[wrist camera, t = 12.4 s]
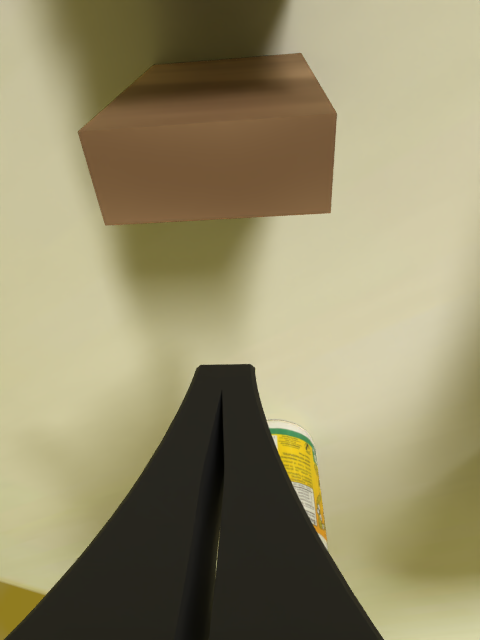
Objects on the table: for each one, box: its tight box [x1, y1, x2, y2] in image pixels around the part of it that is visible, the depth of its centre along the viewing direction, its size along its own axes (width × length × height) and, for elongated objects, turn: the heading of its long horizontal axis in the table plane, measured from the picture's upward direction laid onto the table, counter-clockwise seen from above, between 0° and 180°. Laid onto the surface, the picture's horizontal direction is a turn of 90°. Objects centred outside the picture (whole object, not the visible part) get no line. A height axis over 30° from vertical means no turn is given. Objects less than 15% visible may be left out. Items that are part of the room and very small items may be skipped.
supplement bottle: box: [267, 420, 328, 551], centre depth 24 cm, size 5×5×10 cm
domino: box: [78, 53, 337, 225], centre depth 12 cm, size 2×5×8 cm, turn 94°
